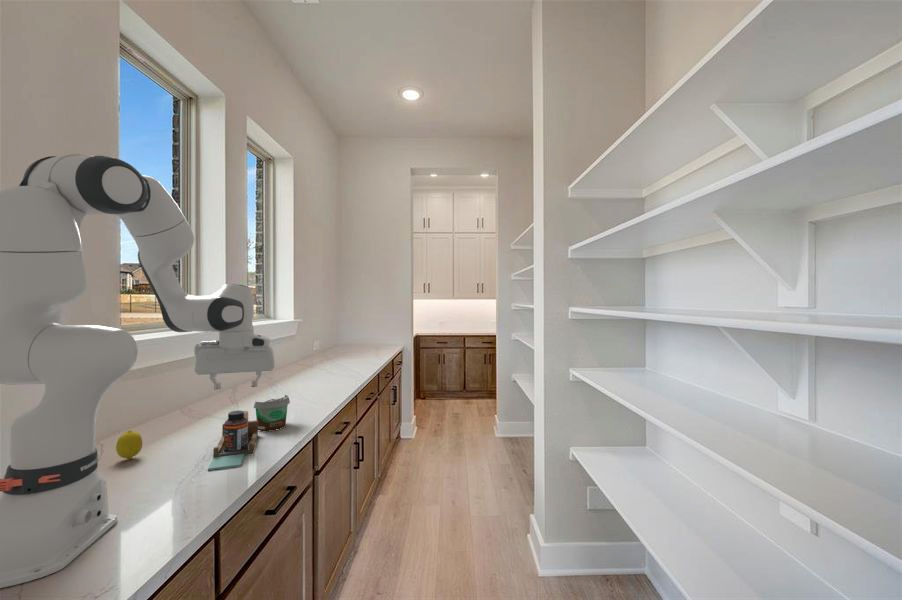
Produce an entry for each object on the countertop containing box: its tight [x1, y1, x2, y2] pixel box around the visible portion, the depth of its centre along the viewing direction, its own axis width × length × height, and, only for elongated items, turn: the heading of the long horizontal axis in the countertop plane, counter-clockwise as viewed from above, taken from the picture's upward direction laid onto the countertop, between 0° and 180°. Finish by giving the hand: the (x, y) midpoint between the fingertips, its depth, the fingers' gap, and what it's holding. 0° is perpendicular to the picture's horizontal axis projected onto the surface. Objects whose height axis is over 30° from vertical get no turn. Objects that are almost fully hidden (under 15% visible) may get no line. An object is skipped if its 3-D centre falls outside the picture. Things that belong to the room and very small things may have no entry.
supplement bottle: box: [223, 410, 248, 453], centre depth 113 cm, size 6×6×11 cm
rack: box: [212, 419, 259, 459], centre depth 116 cm, size 16×10×5 cm, turn 22°
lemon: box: [115, 429, 143, 460], centre depth 106 cm, size 6×6×8 cm
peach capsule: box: [243, 410, 249, 442], centre depth 120 cm, size 5×5×9 cm
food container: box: [253, 394, 291, 432], centre depth 133 cm, size 12×6×10 cm, turn 148°
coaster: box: [207, 454, 245, 472], centre depth 104 cm, size 8×8×1 cm
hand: (236, 387), depth 113 cm, fingers open, 8 cm apart
